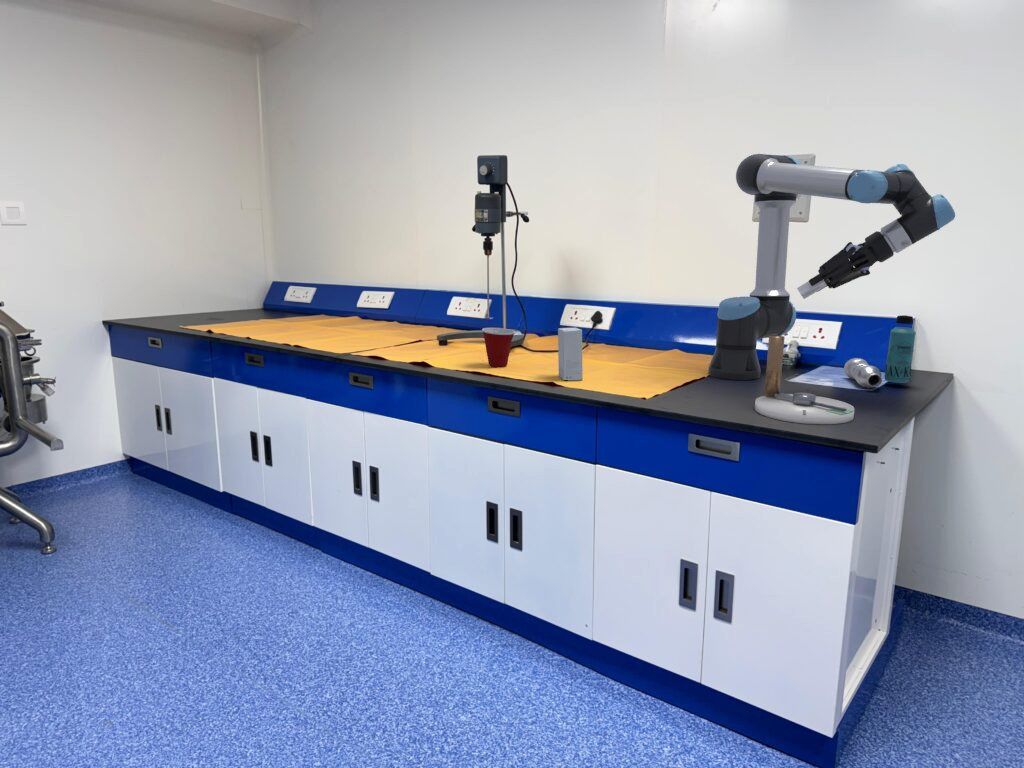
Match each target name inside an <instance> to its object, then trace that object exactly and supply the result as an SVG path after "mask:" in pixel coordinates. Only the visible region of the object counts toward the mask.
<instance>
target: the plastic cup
mask: <svg viewBox="0 0 1024 768" xmlns="http://www.w3.org/2000/svg"><path fill="white" fill-rule="evenodd" d="M481 332H482V333H483V337H484V338H483V339H484V343H485V351H486V356H487V362H488V366H489V367H490V366H491V367H490V368H497V367H499V368H506V367H507V366H508V362H509V356H510V352H511V348H512V343H513V342H512V341H513V339H514V336H515V334H516V331H515V330H512V329H509V328H503V327H483V328H482V329H481ZM505 366H506V367H505Z"/></svg>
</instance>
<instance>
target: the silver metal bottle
mask: <svg viewBox="0 0 1024 768" xmlns="http://www.w3.org/2000/svg"><path fill="white" fill-rule="evenodd" d="M843 369H844V374H845V375H846V377H848V378H849V379H851V380H854V379H855V380H854V381H856V382H857V384H858V385H859V386H860V387H862V388H865V387H867V388H866V389H869V388H870V389H871V388H876V387H879V386H880V385H882V382H883V378H882V371H881V370H880V369H879V368H878V367H877V366H874V365H869V363H868V362H867V361H866V360H865V359H863V358H861V357H860V358H858V357H854V358H850V359H849V360H847V361H846V362H845V364H844V367H843Z"/></svg>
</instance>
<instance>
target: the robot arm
mask: <svg viewBox="0 0 1024 768" xmlns="http://www.w3.org/2000/svg"><path fill="white" fill-rule="evenodd" d="M735 181H736V184H737V186H738V187H739V188H740V190H741V191H742V192H743V193H745V194H747V195H750V196H754V204H755V205H756V206H757V207H758V209H759V214H758V215H759V216H758V231H757V232H758V233H757V234H758V235H757V247H756V251H757V252H756V266H755V267H756V269H755V271H756V272H755V287H754V289H753V290H752V291H751V292H750V293H749V296H736V297H735V296H734V297H728V298H725V299H723V300H721V301H720V302H719V305H718V309H717V313H716V314H717V321H716V323H717V324H716V337H715V338H716V340H715V341H716V342H715V351H714V352H713V355H712V357H711V359H710V363H709V364H708V365H709V366H708V373H707V374H708V375H709V376H710V377H714V378H718V379H723V380H732V381H733V380H734V381H735V380H736V381H751V380H756V379H757V380H758V379H760V377H761V373H762V372H761V371H762V370H761V364H760V362H759V358H758V354H757V343H758V340H759V339H769V336H772V335H776V336H784V335H786V334H788V333H789V332H790V331H791V330H792V329H793V328H794V326H795V323H796V320H797V309H796V308H795V306H794V304H793V303H792V302H791V301H790V299H791V298H790V297H791V295H790V293H789V291H787V289H786V274H787V259H788V244H789V229H790V217H791V216H790V214H791V213H790V212H791V208H792V207H793V206H794V205H795V203H797V195H804V196H812V197H820V198H821V197H822V198H827V199H837V200H843V201H844V200H845V201H853V202H856V203H860V204H880V205H881V204H883V205H884V204H885V205H886V204H887V205H893V207H894V208H895V210H897V212H898V214H899V215H900V217H897V218H896V219H895V220H893V221H891V222H889V223H888V224H886V225H885V226H883V227H881V228H880V231H874V232H873V233H871V234H869V235H868V236H867V237H865V239H864V242H861V243H858V244H857V245H856V244H853V242H851V241H849V242H848V243H846V244H845V246H844V247H843V248H842V249H841V250H840V251H838V252H837V253H836V254H834V255H832V257H830V258H829V259H828V260H827V261H825V262H824V263H822V265H820V266H819V269H818V270H817V272H818V274H816V275H815V276H813V277H811V278H810V279H809V280H808V281H806V282H805V283H803V284H801V285H799V286H798V287H797V288H796V289H797V291H798V292H799V294H800V297H802V298H803V300H805V299H806V298H809V297H810V296H812V295H814V294H815V293H817V292H820V291H822V290H823V289H826V287H828V288H829V289H837V288H839V287H840V286H844V285H845V284H848V283H850V282H852V281H855V280H857V279H859V278H861V277H865V276H869V275H870V274H871V272H870V267H872V266H873V265H874V264H875V263H877V262H879V263H884V262H885V261H888V260H889V259H891V258H892V257H893V256H894V254H895V253H896V254H899V253H900V252H902V251H903V250H905V249H907V248H909V247H911V246H912V245H914V244H916V243H917V242H919V241H921V240H923V239H924V238H926V237H929V235H932V234H933V233H935V232H937V231H939V230H941V228H943V227H945V226H947V225H948V224H950V223H951V222H952V221H954V220H955V218H956V213H955V210H954V208H953V206H952V205H951V203H950V201H949V200H948V199H947V198H946V197H945V196H944V194H942V193H939V194H938V193H937V194H935V195H933V196H931V194H929V192H928V191H927V190H926V189H925V187H924V186H923V185H922V183H921V181H919V179H918V178H917V176H916V174H915V173H914V171H912V170H911V169H910V168H909V167H908V166H907V165H906V164H904V163H897V164H895V165H892V166H891V167H890V166H889V168H887V169H886V170H884V171H879V170H873V169H872V170H871V169H855V168H847V167H846V168H844V167H834V166H833V167H831V166H823V165H822V166H820V165H809V164H802V163H801V162H800V161H799V160H798V159H797V158H795V157H791V156H788V155H785V154H784V155H780V154H779V155H778V154H777V155H776V154H766V153H755V154H751V155H749V156H747V157H745V158H744V159H742V161H741V162H740V163H739V164H738V167H737V169H736V172H735Z"/></svg>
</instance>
